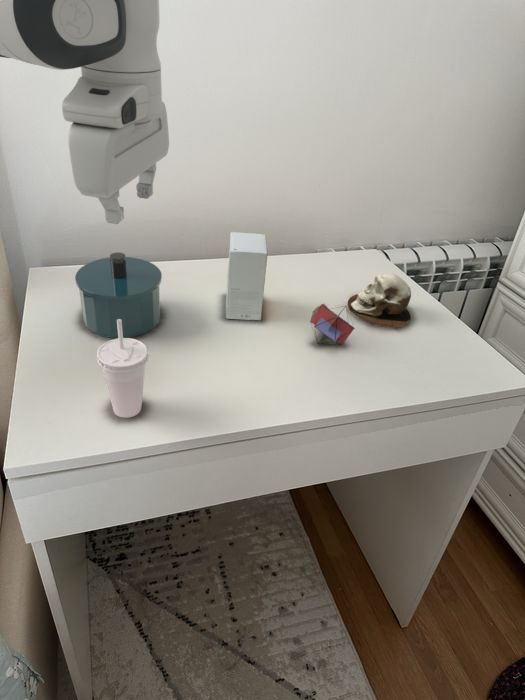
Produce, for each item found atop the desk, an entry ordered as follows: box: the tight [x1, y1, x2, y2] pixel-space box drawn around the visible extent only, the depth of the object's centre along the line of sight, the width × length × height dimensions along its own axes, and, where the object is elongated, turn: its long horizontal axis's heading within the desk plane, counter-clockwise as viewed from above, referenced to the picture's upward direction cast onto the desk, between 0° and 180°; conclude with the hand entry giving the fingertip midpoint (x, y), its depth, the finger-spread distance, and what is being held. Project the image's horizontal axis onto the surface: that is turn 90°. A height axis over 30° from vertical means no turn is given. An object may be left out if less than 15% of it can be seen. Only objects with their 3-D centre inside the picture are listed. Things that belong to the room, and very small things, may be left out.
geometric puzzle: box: [309, 303, 356, 346], centre depth 89 cm, size 7×7×8 cm
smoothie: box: [96, 319, 150, 419], centre depth 69 cm, size 6×6×14 cm
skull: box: [347, 272, 412, 329], centre depth 99 cm, size 12×10×10 cm
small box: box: [225, 231, 269, 321], centre depth 93 cm, size 8×6×13 cm
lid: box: [74, 252, 163, 300], centre depth 86 cm, size 14×14×5 cm
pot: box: [78, 285, 161, 339], centre depth 89 cm, size 13×13×8 cm
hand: (131, 208), depth 70 cm, fingers open, 8 cm apart
